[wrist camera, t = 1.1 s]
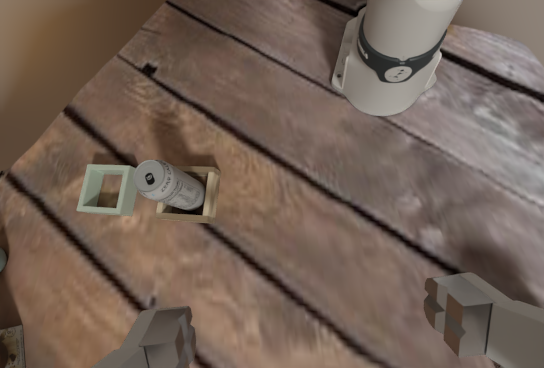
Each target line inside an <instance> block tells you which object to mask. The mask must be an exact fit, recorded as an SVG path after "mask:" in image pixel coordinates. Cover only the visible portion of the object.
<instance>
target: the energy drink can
mask: <svg viewBox="0 0 544 368" xmlns="http://www.w3.org/2000/svg"><path fill="white" fill-rule="evenodd" d="M133 182H134V185H135V187H136V188H137V189H138V190H139V192H140V193H141V194H142V195H143V196H144V197H146V198H149V199H152V200H155V201H159V202H162V203H165V204H168V205H171V206H174V207H178V208H181V209H184V210H188V211H192V210H195V209H197V208H199V207H200V206H201V205H202V204H203V203H204V201H205V195H206V190H205V187H204V185H203V184H202V183H201V182H199V181H198V180H196V179H194V178H193V177H191V176H189V175H188V174H186V173H184V172H183V171H181V170H179V169H177V168H176V167H174V166H172V165H171V164H169V163H167V162H166V161H163V160H147V161H144V162H142V163H141V164H140V165H139V166H138V167H137V168H136V170H135V172H134V175H133Z"/></svg>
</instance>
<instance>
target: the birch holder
mask: <svg viewBox="0 0 544 368" xmlns="http://www.w3.org/2000/svg"><path fill="white" fill-rule="evenodd" d="M174 167H176V168H177V169H179V170H181V171H183V172H184V173H186V174H188V175H189V176H203V177H208V180H207V187H206V195H205V202H204V209H203V215H188V214H172V213H171V212H172V206H171V205H168V204H165V203H162V202H159V201H158V206H157V211H156V217H155V218H158V219H163V220H172V221H186V222H201V223H214V222H215V214H216V207H217V199H218V191H219V183H220V175H221V172H220V171H219V170H218V169H216V168H215V167H199V166H174Z"/></svg>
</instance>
